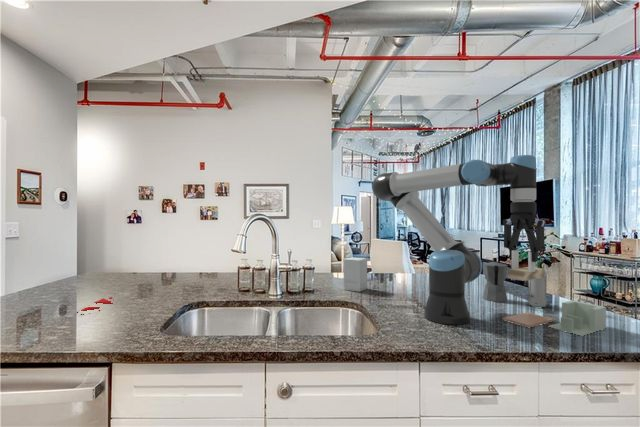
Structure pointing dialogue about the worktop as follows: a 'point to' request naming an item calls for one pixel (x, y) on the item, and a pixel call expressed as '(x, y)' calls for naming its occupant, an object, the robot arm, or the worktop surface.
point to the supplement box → (355, 274)
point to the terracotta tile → (528, 319)
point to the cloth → (98, 302)
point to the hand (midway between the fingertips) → (523, 270)
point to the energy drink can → (537, 292)
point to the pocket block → (581, 318)
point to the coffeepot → (495, 281)
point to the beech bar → (525, 273)
